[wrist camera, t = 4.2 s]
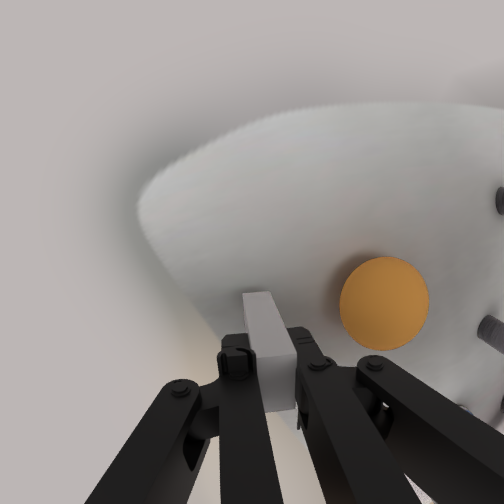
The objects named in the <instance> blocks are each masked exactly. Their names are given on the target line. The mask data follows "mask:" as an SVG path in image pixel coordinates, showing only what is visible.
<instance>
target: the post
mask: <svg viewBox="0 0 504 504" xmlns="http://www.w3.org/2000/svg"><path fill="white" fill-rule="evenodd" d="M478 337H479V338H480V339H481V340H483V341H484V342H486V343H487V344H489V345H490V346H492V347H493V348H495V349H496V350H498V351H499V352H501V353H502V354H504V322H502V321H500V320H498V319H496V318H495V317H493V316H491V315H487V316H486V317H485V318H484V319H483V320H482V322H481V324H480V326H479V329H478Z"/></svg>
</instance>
